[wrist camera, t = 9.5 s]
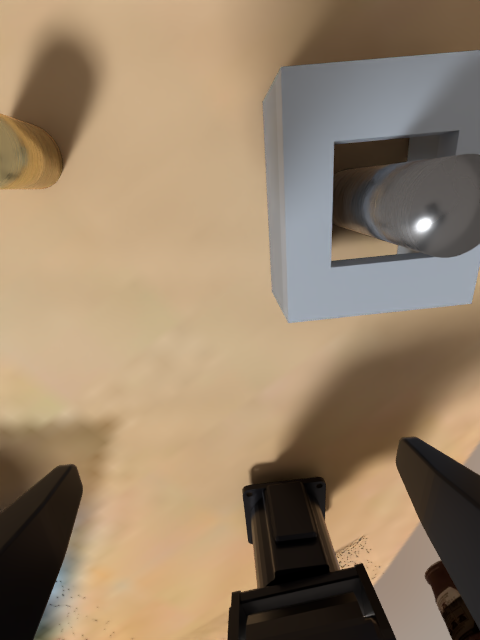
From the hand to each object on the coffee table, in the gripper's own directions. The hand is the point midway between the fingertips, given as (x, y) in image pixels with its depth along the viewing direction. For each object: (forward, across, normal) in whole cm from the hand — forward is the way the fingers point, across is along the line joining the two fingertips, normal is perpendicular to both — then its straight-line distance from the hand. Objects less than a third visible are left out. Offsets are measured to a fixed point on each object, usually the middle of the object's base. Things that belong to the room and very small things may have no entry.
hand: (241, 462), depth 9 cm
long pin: (+12, -7, -6) cm, 15 cm away
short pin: (+12, +10, -9) cm, 18 cm away
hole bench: (+12, -7, -6) cm, 15 cm away
